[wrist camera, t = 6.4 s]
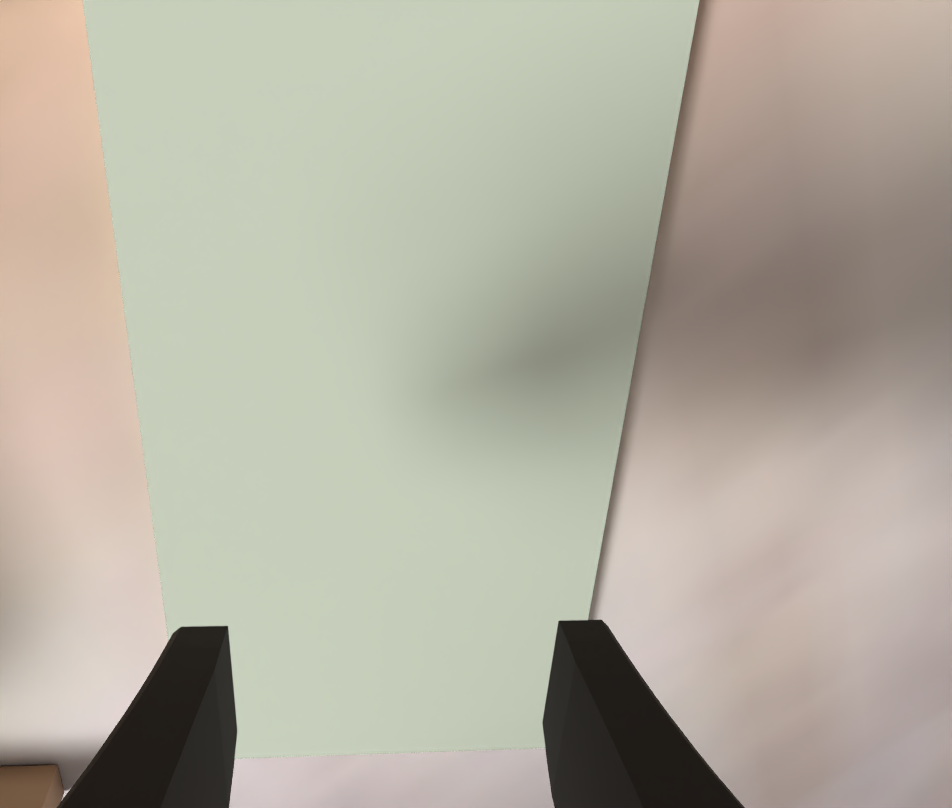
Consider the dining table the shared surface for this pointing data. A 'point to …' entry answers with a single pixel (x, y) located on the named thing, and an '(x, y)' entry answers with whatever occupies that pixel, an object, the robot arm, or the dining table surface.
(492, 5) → the felt pad
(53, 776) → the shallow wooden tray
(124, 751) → the robot arm
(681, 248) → the dining table surface
